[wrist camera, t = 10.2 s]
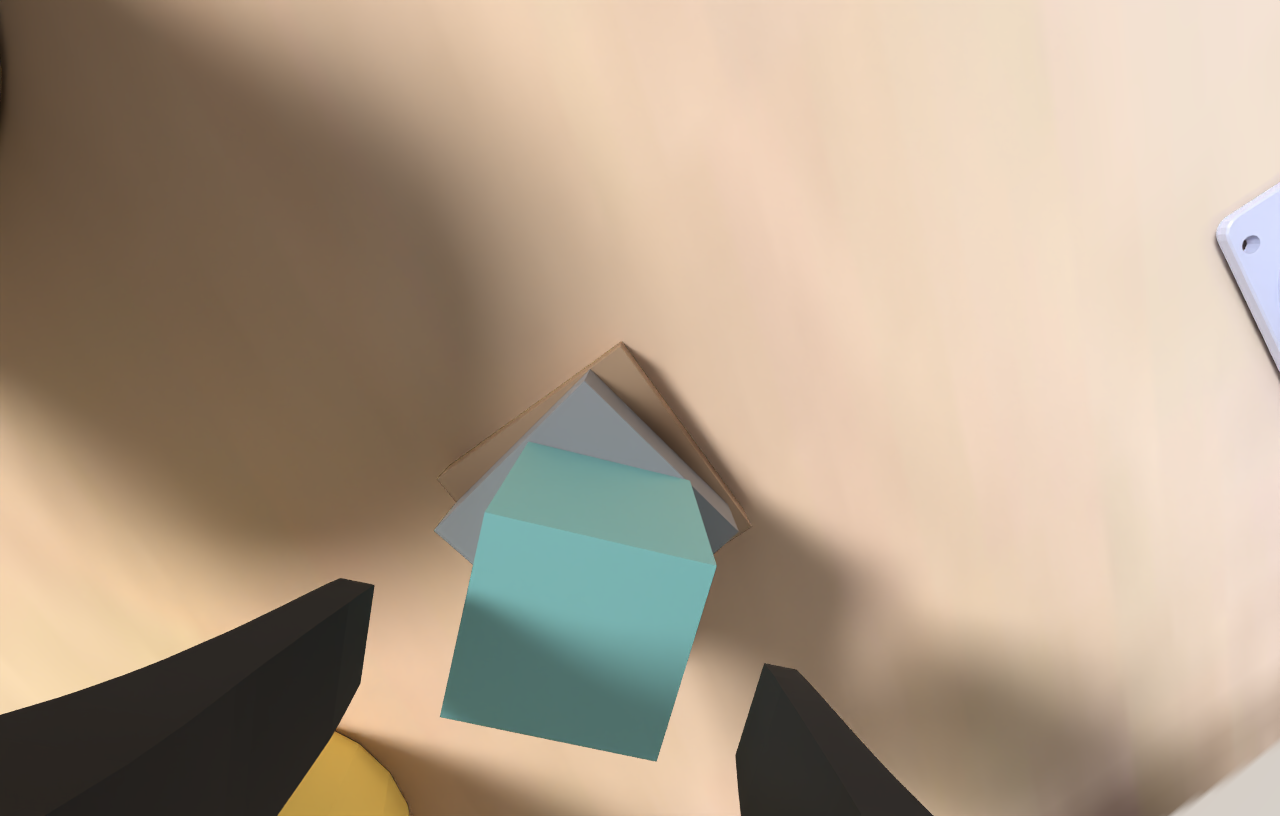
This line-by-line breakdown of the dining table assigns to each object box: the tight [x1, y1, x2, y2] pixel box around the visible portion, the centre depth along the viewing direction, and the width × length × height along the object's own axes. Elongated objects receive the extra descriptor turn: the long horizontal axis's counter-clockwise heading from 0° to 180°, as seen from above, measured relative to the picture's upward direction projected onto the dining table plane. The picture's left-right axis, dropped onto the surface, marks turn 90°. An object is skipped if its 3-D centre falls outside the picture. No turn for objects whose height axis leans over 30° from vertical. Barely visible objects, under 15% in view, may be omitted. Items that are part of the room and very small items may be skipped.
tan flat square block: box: [437, 342, 751, 544], centre depth 20 cm, size 7×7×2 cm
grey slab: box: [434, 369, 739, 564], centre depth 18 cm, size 6×6×2 cm
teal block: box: [440, 442, 717, 761], centre depth 14 cm, size 4×4×5 cm
